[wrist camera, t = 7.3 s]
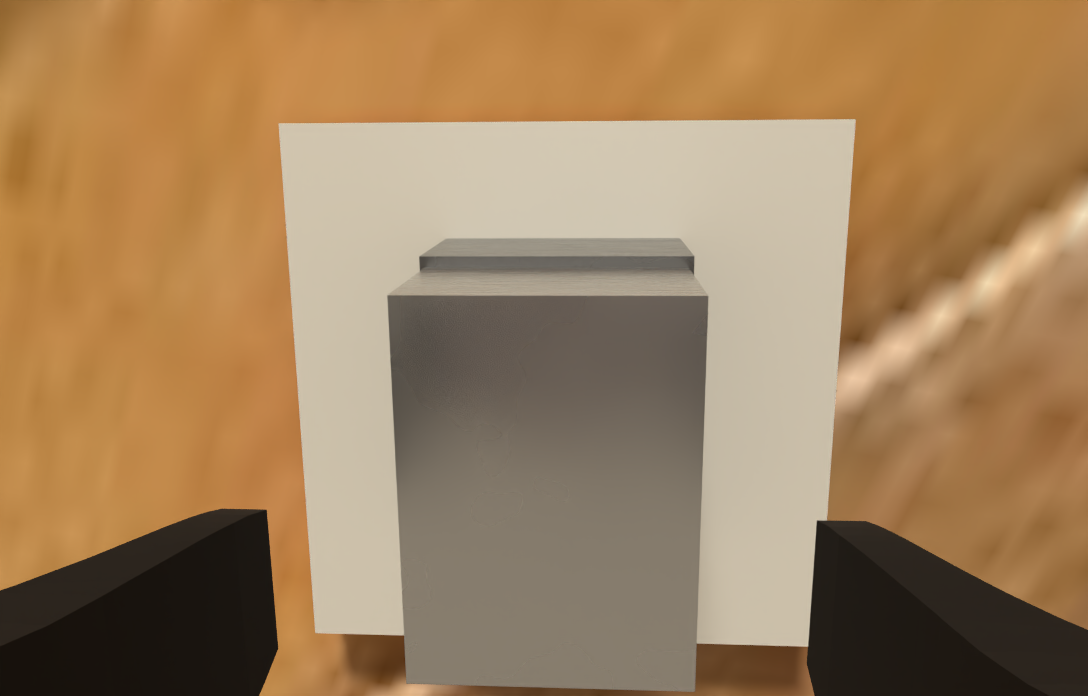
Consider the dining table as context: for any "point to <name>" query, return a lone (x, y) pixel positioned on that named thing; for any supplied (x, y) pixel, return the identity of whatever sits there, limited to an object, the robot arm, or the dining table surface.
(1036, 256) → the dining table surface
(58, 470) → the dining table surface
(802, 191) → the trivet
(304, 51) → the dining table surface
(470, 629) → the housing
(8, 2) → the dining table surface
